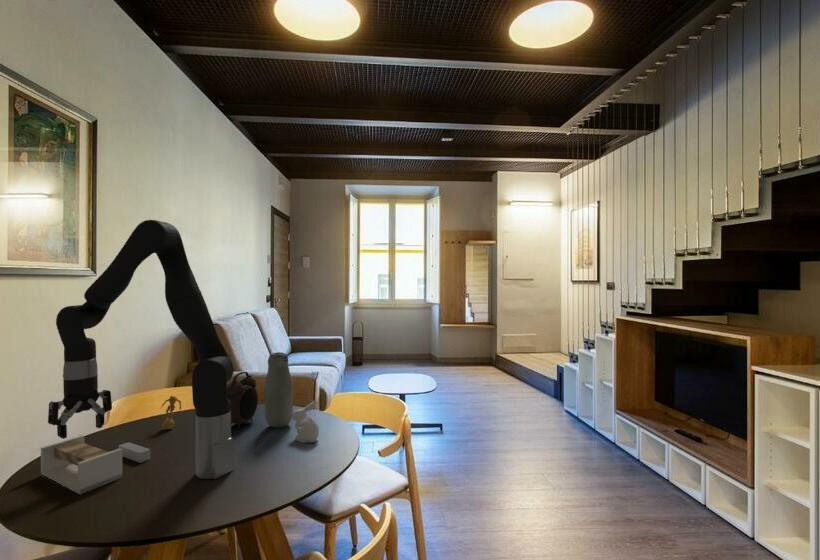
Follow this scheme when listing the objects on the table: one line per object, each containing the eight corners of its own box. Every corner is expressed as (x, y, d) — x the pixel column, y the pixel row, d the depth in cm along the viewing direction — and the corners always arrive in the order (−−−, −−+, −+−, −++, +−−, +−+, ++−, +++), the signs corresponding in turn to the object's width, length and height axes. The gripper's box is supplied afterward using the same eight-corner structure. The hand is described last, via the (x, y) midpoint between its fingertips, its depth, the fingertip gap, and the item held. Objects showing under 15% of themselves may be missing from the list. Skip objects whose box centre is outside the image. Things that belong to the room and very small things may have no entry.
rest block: (150, 458, 125) (150, 449, 125) (140, 462, 122) (140, 453, 122) (128, 451, 130) (128, 442, 130) (118, 455, 127) (118, 445, 127)
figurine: (153, 430, 148) (153, 398, 148) (165, 425, 154) (165, 393, 154) (174, 431, 147) (174, 399, 147) (185, 426, 153) (185, 394, 153)
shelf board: (109, 461, 112) (109, 452, 112) (86, 469, 107) (86, 460, 107) (77, 449, 120) (77, 440, 120) (54, 456, 115) (54, 447, 115)
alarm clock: (238, 432, 146) (238, 377, 146) (221, 431, 147) (221, 376, 147) (261, 418, 160) (261, 368, 160) (245, 417, 162) (244, 368, 162)
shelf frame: (122, 477, 113) (122, 449, 113) (80, 494, 104) (80, 463, 104) (82, 461, 123) (82, 435, 123) (40, 475, 114) (40, 447, 114)
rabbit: (289, 436, 142) (289, 403, 142) (314, 430, 148) (313, 397, 148) (304, 447, 132) (304, 411, 132) (329, 440, 138) (329, 405, 138)
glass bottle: (295, 421, 157) (295, 350, 157) (288, 431, 147) (288, 355, 147) (269, 421, 157) (269, 350, 157) (261, 431, 147) (260, 355, 147)
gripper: (55, 382, 105) (57, 444, 106) (116, 371, 118) (117, 426, 118) (42, 380, 109) (43, 439, 109) (102, 369, 122) (103, 422, 122)
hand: (81, 432), depth 114 cm, fingers open, 8 cm apart
